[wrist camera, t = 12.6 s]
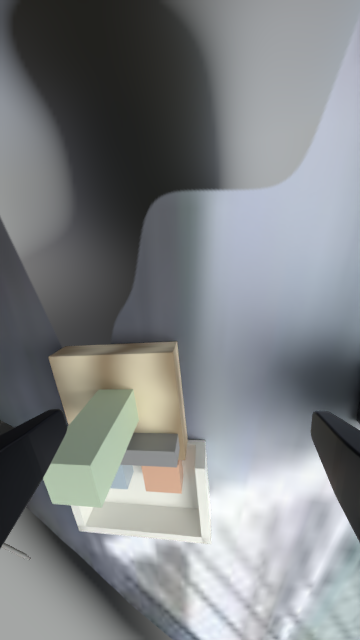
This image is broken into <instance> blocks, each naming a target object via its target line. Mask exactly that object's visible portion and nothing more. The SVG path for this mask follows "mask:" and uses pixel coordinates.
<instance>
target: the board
mask: <svg viewBox="0 0 360 640" xmlns="http://www.w3.org/2000/svg"><path fill="white" fill-rule="evenodd" d="M49 361H50V364H51V368H52V371H53V374H54V378H55V381H56V385H57V388H58V391H59V395H60V398H61V401H62V405H63V408H64V412H65V415H66V418H67V422H68V425H70V423H71V422H72V421H73V420H74V419H75V417H76V416H77V415H78V414H79V413H80V411H81V410H82V409H83V408H84V407H85V405H86V404H87V403H88V402H89V400H90V399H91V398H92V397H93V396H94V394H95V393H96V392H97V391H98V390H100V389H133V390H134V396H135V401H136V407H137V412H138V418H139V421H138V423H137V426H136V428H135V431H134V433H169V434H178V438H179V446H180V450H179V457H178V460H186V450H187V441H188V439H187V430H186V420H185V411H184V402H183V392H182V383H181V374H180V365H179V355H178V346H177V341H176V342H153V343H130V344H107V345H84V346H65V347H64V348H62V349H60V350H59V351H57V352H56V353H54V354H52V355H51V356H49Z"/></svg>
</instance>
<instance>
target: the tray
mask: <svg viewBox="0 0 360 640" xmlns="http://www.w3.org/2000/svg"><path fill="white" fill-rule="evenodd" d="M182 465H183V474H184V477H183V486H182V494H178V493H164V492H149V491H146V489H145V483H144V478H143V473H142V467H141V466H135V465H132V466H133V471H134V473H133V475H132V478H131V481H130V484H129V487H128V489H114V488H110V490H109V492H108V494H107V497H106V499H105V502H104V504H103V506H102V508H98V507H86V506H74V505H71V507H72V510H73V513H74V516H75V519H76V522H77V525H78V528H79V531H83V532H93V533H103V534H113V535H123V536H133V537H143V538H153V539H163V540H173V541H183V542H193V543H203V544H211V506H210V494H209V481H208V468H207V455H206V443H205V440H188V441H187V450H186V460H182Z"/></svg>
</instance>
